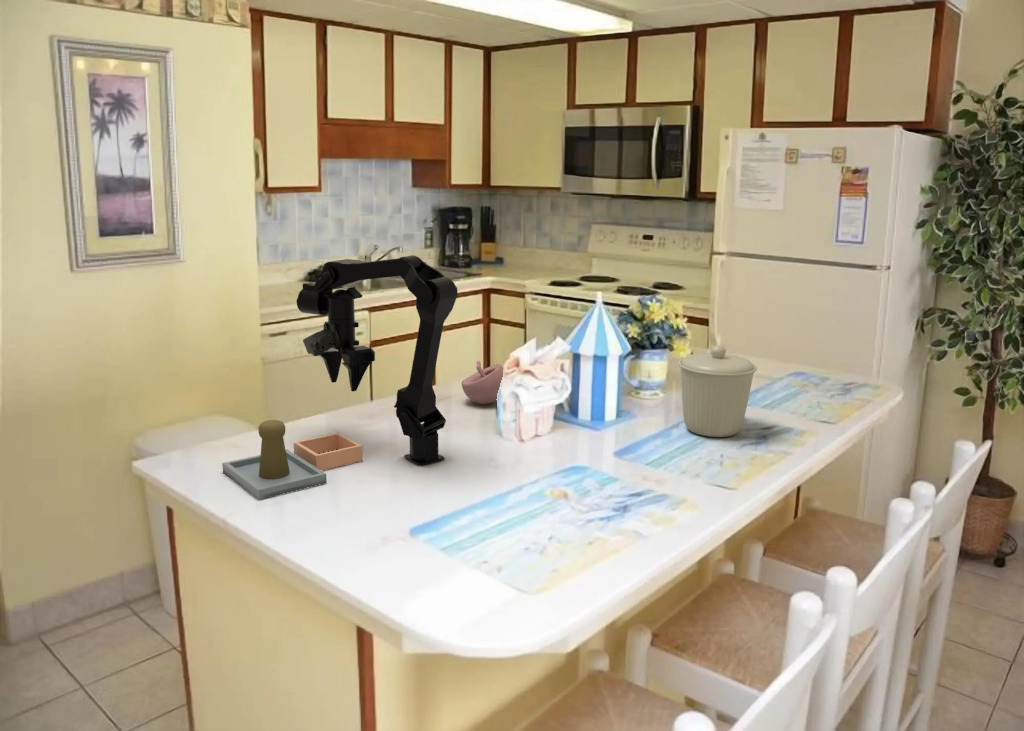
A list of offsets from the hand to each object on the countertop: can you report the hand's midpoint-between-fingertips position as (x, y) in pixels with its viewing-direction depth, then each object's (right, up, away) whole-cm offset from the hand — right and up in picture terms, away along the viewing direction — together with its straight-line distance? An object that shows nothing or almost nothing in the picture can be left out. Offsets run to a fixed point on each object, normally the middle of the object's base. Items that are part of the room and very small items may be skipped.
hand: (343, 386), depth 189 cm
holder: (-2, -15, -8) cm, 17 cm away
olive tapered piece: (-10, -17, -19) cm, 27 cm away
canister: (+86, -11, +15) cm, 88 cm away
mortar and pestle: (+30, -5, +35) cm, 46 cm away
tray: (-10, -18, -19) cm, 28 cm away
